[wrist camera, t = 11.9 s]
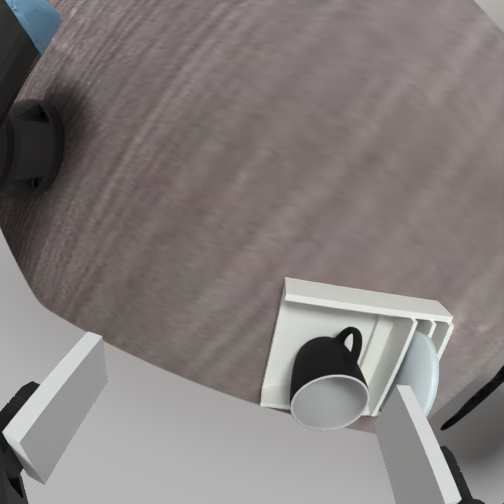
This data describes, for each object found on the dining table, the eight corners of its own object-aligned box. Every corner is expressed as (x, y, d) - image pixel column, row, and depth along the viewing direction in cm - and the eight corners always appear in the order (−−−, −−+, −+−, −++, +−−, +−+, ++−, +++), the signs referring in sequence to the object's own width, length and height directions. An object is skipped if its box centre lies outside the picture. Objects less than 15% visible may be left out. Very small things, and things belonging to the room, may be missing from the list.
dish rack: (262, 383, 44) (259, 410, 38) (285, 277, 39) (286, 297, 33) (396, 395, 43) (407, 419, 37) (437, 300, 38) (456, 320, 32)
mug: (333, 387, 42) (342, 437, 32) (277, 369, 42) (276, 420, 32) (377, 321, 39) (401, 365, 29) (318, 297, 38) (329, 340, 29)
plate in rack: (373, 388, 42) (395, 452, 29) (404, 313, 38) (444, 369, 26) (380, 388, 42) (403, 451, 29) (411, 314, 38) (453, 369, 25)
